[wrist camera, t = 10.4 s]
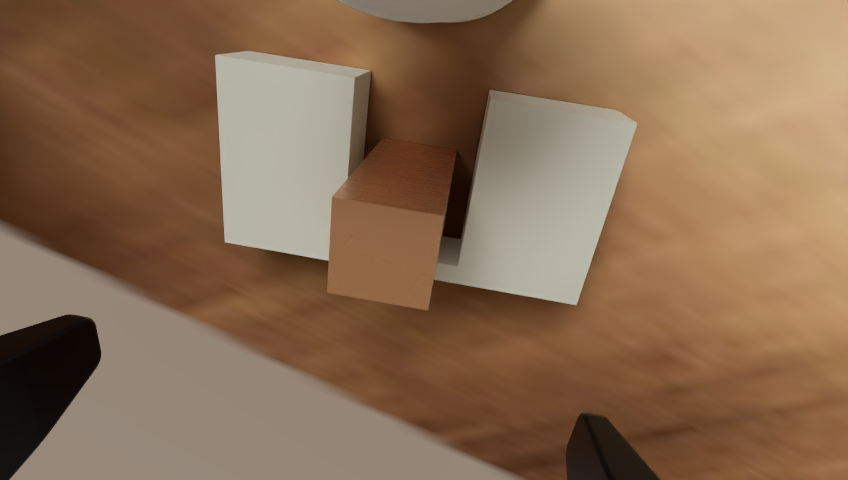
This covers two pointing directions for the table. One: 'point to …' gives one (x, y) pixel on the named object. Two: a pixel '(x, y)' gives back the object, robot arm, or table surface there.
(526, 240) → the notched board
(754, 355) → the table surface
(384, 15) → the bobbin
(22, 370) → the robot arm
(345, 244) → the copper tab
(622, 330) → the table surface
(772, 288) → the table surface
